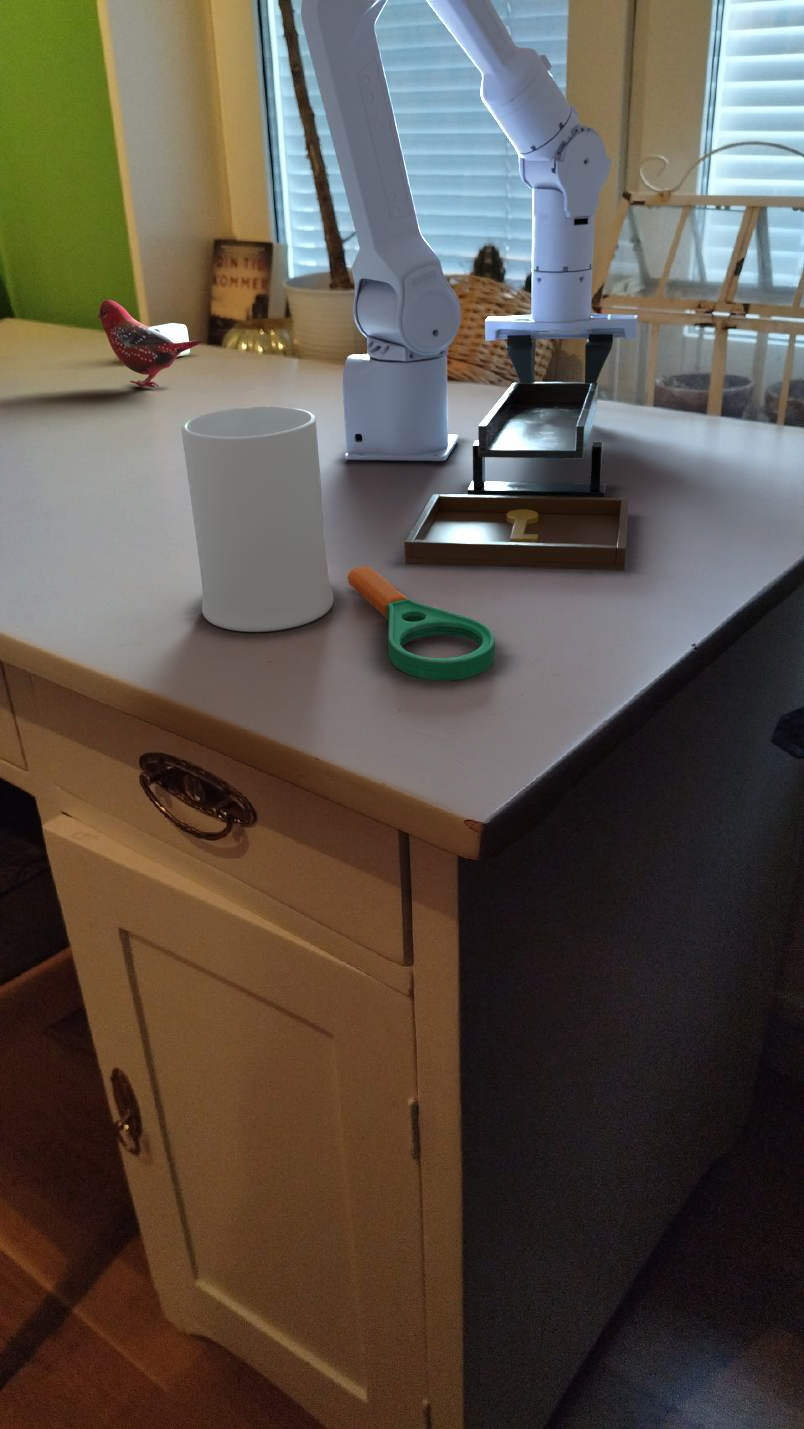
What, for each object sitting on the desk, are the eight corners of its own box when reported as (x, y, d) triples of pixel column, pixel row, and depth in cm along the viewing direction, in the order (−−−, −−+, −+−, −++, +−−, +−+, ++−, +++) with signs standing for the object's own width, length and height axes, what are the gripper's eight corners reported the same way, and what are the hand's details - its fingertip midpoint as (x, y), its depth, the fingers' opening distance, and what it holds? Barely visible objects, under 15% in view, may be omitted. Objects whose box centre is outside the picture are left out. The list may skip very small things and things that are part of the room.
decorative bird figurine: (117, 380, 140) (103, 297, 136) (217, 393, 131) (206, 304, 126) (99, 384, 138) (85, 300, 134) (199, 398, 129) (188, 308, 124)
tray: (405, 563, 78) (404, 541, 77) (432, 513, 87) (432, 493, 87) (624, 570, 75) (625, 548, 74) (628, 518, 84) (629, 497, 84)
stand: (467, 494, 91) (466, 446, 89) (471, 486, 93) (471, 439, 92) (604, 497, 89) (606, 448, 87) (605, 488, 91) (607, 440, 89)
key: (499, 545, 79) (499, 538, 79) (508, 515, 85) (508, 508, 85) (537, 546, 79) (537, 539, 78) (543, 515, 84) (543, 509, 84)
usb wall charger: (190, 355, 153) (186, 325, 151) (149, 363, 149) (144, 332, 147) (173, 352, 155) (169, 322, 153) (132, 360, 151) (127, 330, 149)
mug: (169, 585, 76) (142, 409, 70) (283, 560, 79) (266, 390, 74) (230, 644, 67) (205, 447, 61) (356, 613, 70) (343, 423, 64)
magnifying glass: (515, 666, 62) (516, 639, 62) (419, 690, 60) (418, 662, 59) (402, 581, 75) (401, 558, 74) (319, 599, 72) (317, 575, 72)
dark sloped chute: (478, 457, 85) (478, 425, 84) (519, 399, 111) (519, 374, 110) (583, 458, 83) (584, 426, 82) (599, 399, 110) (600, 374, 109)
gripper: (640, 262, 106) (633, 404, 113) (491, 265, 109) (492, 404, 115) (639, 271, 100) (631, 421, 107) (481, 274, 103) (482, 420, 109)
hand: (558, 413), depth 111 cm, fingers closed on dark sloped chute, 5 cm apart
